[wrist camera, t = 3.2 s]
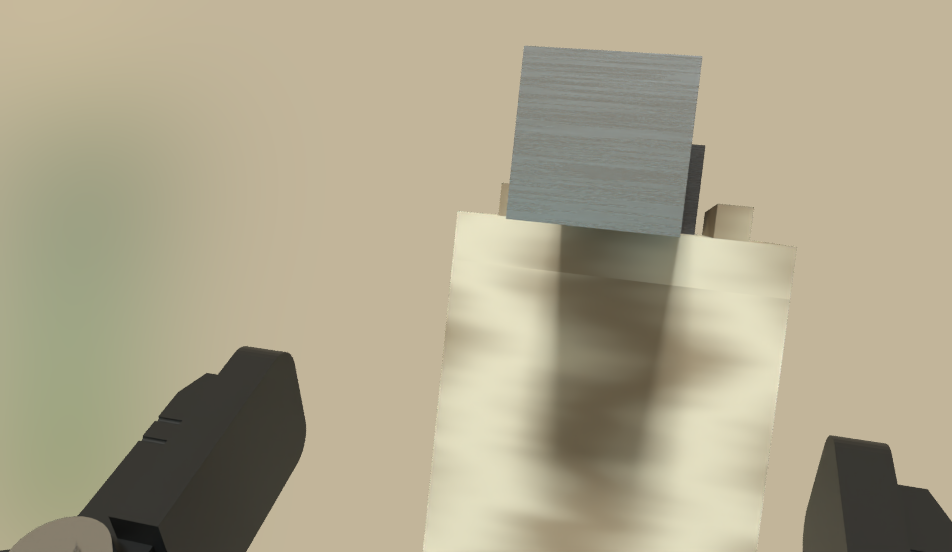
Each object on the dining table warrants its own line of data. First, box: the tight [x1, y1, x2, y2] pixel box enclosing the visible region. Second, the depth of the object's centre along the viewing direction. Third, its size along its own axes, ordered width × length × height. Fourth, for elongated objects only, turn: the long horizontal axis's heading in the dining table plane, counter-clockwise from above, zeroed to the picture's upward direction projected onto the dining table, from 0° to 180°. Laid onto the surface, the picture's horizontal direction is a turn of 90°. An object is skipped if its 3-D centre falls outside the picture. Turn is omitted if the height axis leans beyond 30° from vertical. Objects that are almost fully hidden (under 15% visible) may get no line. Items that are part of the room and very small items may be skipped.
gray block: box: [506, 46, 705, 237], centre depth 28 cm, size 5×22×4 cm, turn 167°
